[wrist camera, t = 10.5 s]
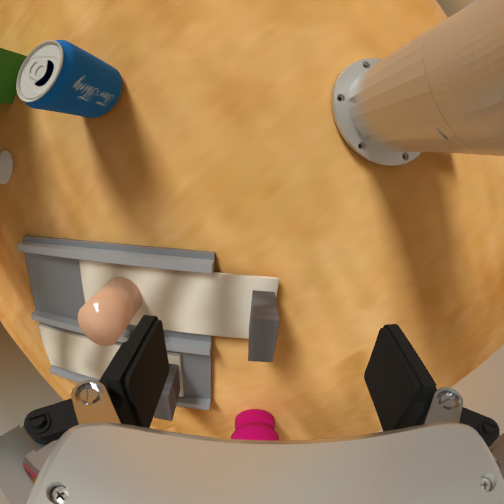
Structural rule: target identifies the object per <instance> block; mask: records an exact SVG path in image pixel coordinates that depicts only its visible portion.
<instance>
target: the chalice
mask: <svg viewBox="0 0 504 504" xmlns="http://www.w3.org/2000/svg"><path fill="white" fill-rule="evenodd" d="M12 171H13V159H12V156H11V154H10V152H9V151H7V150H4V151H2V152H1V153H0V183H1V184H6V183H7V182H8V181H9V180H10V178H11V176H12Z"/></svg>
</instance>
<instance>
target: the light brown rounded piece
mask: <svg viewBox="0 0 504 504" xmlns="http://www.w3.org/2000/svg"><path fill="white" fill-rule="evenodd" d="M141 304H142V296H141V293H140V290H139V289H138V287H137V286H136V285H135V284H134V283H133V282H132V281H131V280H129V279H127V278H125V277H114V278H112V279H110V280H109V281H108V282H107V283H106V284H105V285H104V286H103V287H102V288H101V289H100V290H99V291H98V292H97V293H96V294H94V295H93V296H92V297H91V298H90V299H89V300H88V301H87V302H86V303H85V304H84V305H83V306H82V307H81V308H80V310H79V312H78V323H79V326H80V328H81V330H82V331H83V333H84V334H85V335H86V337H87V338H89V339H90V340H91V341H92V342H94V343H96V344H98V345H101V346H112V345H114V344H115V343H116V342H117V341H118V339H119V338H120V336H121V335H122V333H123V332H124V330H125V329H126V327H127V326H128V324H129V323H130V321H131V320H132V318H133V317H134V316H135V314H136V313H137V311H138V310H139V308H140V306H141Z"/></svg>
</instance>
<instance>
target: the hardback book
mask: <svg viewBox="0 0 504 504" xmlns="http://www.w3.org/2000/svg"><path fill="white" fill-rule="evenodd" d="M26 57H27V56H24V55H21V54H18V53H15V52H12V51H8V50H5V49H1V48H0V104H12V103H13V99H14V96H15V92H16V83H17V77H18V73H19V70H20V68H21V66H22V64H23V62H24V60H25V59H26Z"/></svg>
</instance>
